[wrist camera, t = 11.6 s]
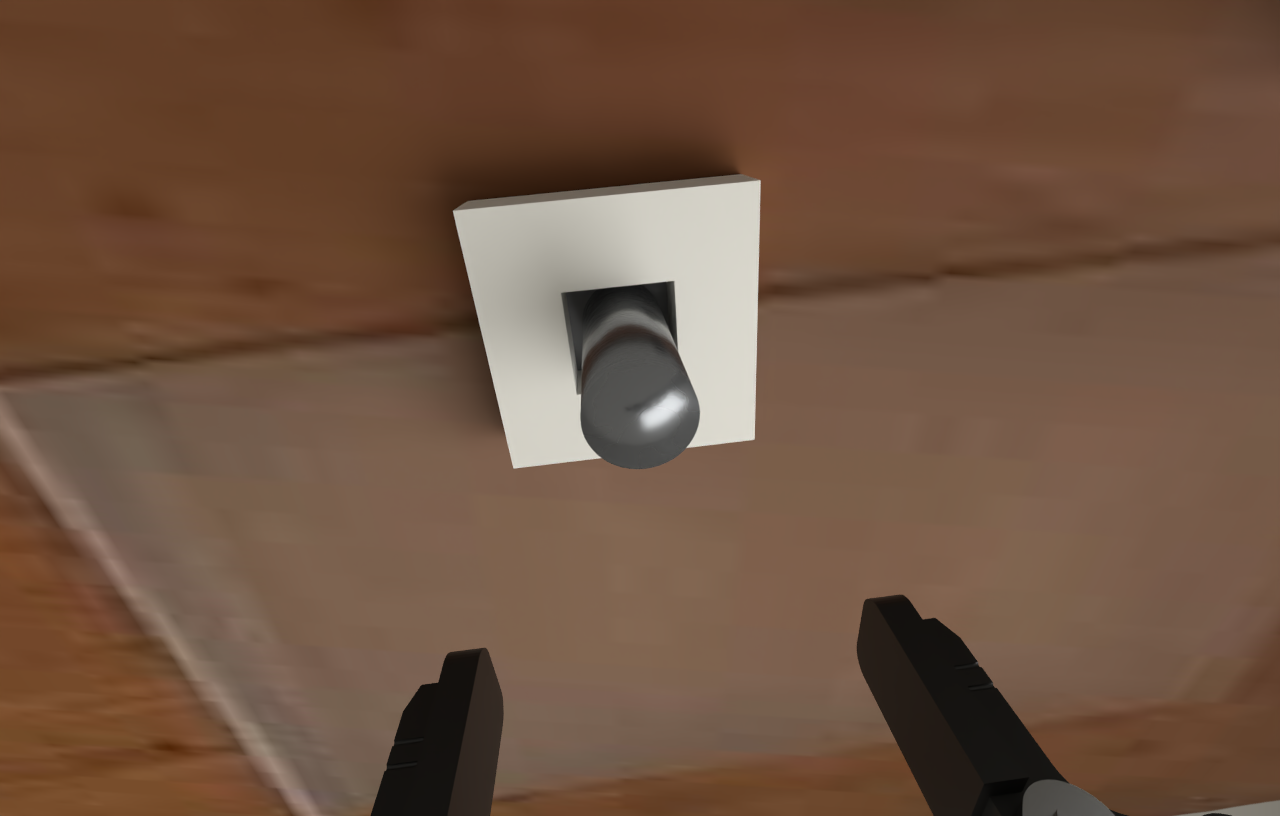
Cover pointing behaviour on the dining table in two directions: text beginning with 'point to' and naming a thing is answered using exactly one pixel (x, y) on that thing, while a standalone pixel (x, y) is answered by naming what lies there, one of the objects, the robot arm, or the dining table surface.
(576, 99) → the dining table surface
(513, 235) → the socket block
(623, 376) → the graphite peg
